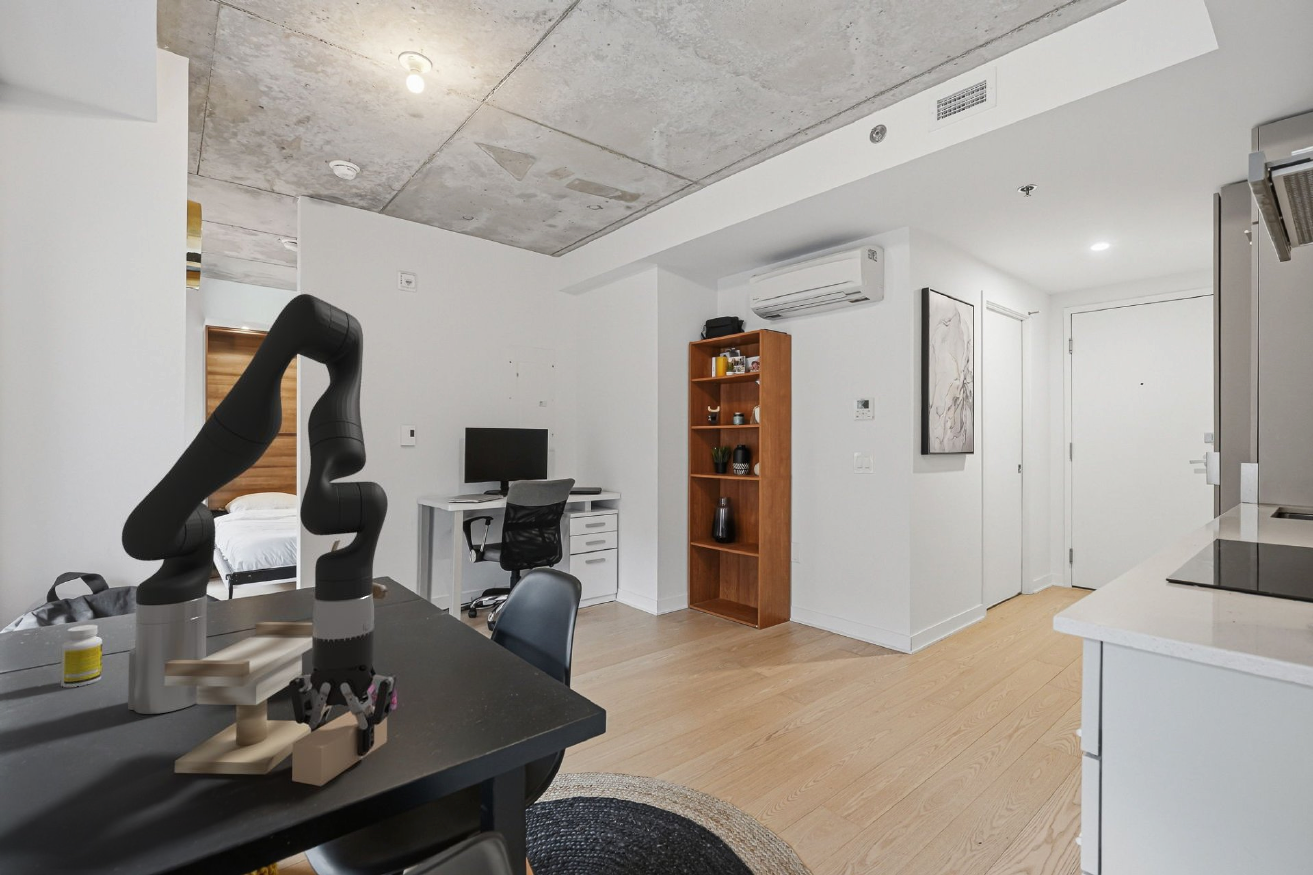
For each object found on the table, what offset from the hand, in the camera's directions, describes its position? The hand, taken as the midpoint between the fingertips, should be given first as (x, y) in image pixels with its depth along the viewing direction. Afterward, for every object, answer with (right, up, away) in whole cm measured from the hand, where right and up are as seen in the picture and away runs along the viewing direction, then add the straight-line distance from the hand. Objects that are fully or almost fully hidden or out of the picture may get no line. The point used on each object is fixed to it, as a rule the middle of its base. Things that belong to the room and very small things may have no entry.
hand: (342, 752), depth 83 cm
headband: (-3, -2, +20) cm, 20 cm away
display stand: (-14, -1, +2) cm, 14 cm away
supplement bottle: (-60, -1, +26) cm, 66 cm away
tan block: (0, -1, 0) cm, 1 cm away
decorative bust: (-14, -1, +30) cm, 34 cm away
